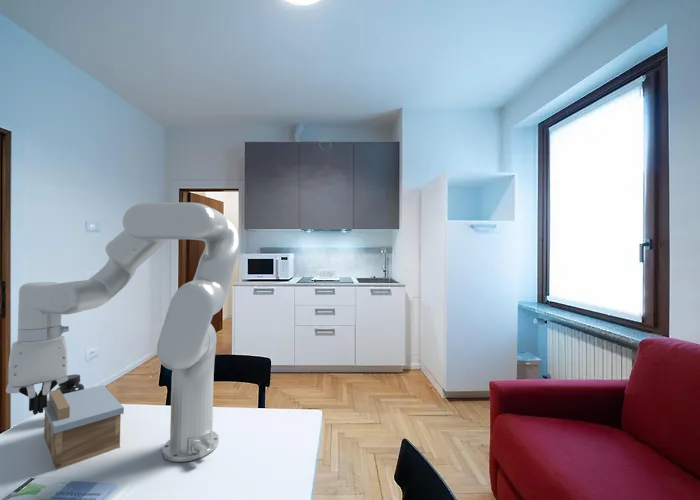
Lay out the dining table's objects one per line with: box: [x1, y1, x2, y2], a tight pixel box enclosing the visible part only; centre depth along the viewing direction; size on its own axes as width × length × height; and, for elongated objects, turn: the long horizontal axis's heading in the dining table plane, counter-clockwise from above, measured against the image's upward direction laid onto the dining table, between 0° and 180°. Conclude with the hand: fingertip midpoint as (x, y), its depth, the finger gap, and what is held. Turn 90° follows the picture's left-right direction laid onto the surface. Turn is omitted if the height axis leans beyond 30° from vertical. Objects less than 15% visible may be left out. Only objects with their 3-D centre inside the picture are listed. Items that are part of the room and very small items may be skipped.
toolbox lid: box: [43, 384, 125, 434], centre depth 84 cm, size 21×13×4 cm, turn 48°
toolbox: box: [43, 412, 122, 471], centre depth 84 cm, size 20×12×8 cm, turn 48°
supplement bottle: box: [55, 374, 85, 394], centre depth 96 cm, size 7×7×12 cm
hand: (37, 411), depth 78 cm, fingers closed
